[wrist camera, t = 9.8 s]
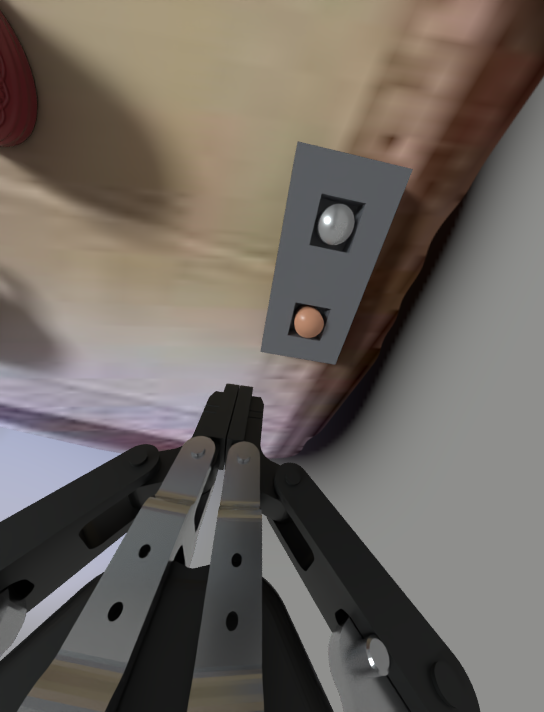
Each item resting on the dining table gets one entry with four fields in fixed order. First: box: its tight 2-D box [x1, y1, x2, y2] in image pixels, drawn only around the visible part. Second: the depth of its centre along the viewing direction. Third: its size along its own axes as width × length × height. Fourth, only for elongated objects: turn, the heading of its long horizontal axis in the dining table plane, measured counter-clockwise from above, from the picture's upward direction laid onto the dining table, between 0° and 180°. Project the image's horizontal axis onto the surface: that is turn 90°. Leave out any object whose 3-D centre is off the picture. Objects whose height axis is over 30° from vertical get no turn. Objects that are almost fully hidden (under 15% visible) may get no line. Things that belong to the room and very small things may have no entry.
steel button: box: [315, 204, 354, 245], centre depth 25 cm, size 4×4×3 cm
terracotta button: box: [294, 305, 324, 338], centre depth 30 cm, size 4×4×3 cm
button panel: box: [261, 142, 413, 364], centre depth 29 cm, size 24×12×4 cm, turn 170°
